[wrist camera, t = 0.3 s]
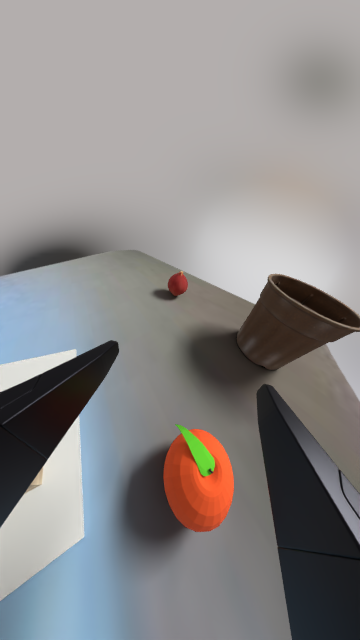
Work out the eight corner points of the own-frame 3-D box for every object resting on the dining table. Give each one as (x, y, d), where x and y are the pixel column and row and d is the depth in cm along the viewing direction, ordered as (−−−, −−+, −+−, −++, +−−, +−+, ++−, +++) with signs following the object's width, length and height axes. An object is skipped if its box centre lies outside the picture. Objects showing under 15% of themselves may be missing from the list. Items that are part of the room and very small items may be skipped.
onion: (164, 289, 45) (169, 265, 40) (180, 290, 47) (187, 267, 42) (168, 300, 41) (174, 275, 36) (186, 301, 44) (194, 277, 38)
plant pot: (300, 360, 37) (369, 313, 26) (276, 395, 27) (368, 344, 17) (248, 319, 45) (285, 271, 34) (216, 336, 35) (254, 276, 25)
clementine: (143, 453, 17) (149, 443, 12) (186, 416, 21) (203, 398, 16) (182, 550, 13) (214, 589, 8) (227, 481, 17) (264, 482, 12)
